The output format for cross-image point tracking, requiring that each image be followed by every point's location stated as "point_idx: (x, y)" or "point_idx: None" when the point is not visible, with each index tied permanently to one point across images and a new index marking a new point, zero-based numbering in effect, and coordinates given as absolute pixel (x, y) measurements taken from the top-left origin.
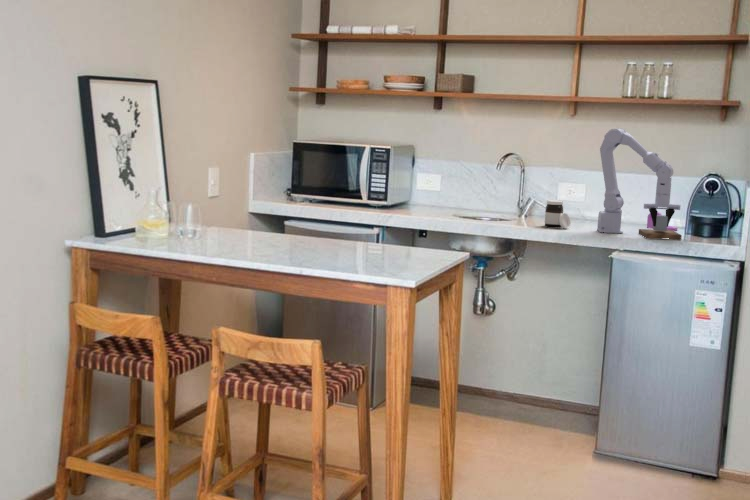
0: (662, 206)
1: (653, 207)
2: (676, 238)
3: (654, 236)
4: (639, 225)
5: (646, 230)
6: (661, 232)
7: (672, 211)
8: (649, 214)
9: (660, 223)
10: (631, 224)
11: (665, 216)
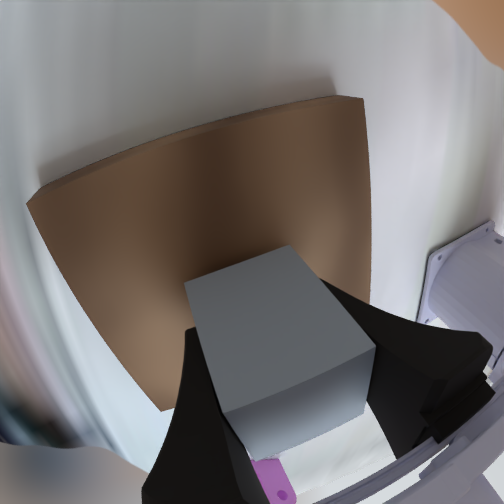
0: (459, 474)
1: (464, 431)
2: (75, 174)
3: (287, 108)
4: (297, 466)
5: None
6: None
7: (175, 500)
8: (293, 501)
9: (280, 306)
10: (319, 462)
11: (257, 411)
